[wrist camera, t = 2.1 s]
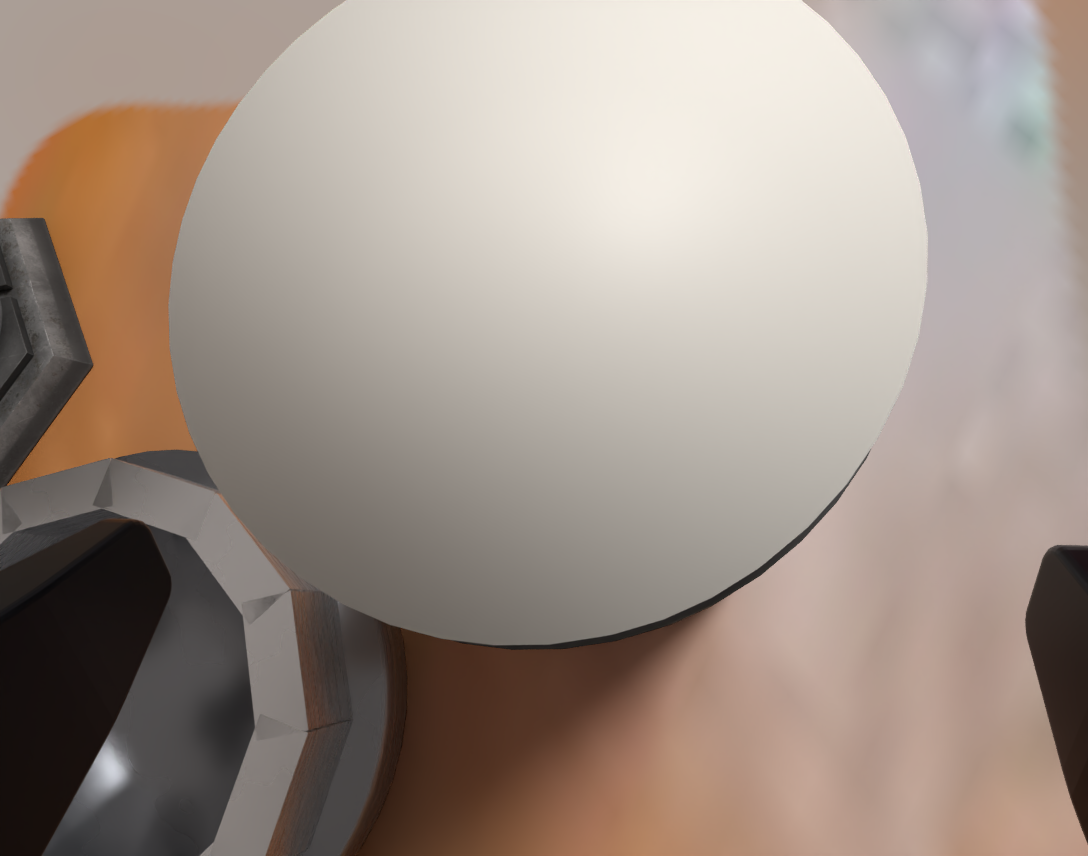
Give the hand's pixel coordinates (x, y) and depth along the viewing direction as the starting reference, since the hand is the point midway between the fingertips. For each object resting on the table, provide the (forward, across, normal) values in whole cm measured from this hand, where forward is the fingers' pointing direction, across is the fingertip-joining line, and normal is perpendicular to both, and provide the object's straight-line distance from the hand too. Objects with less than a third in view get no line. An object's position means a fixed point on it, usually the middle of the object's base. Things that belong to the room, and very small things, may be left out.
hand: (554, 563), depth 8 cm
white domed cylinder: (+8, 0, +5) cm, 10 cm away
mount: (+5, +10, +9) cm, 14 cm away
